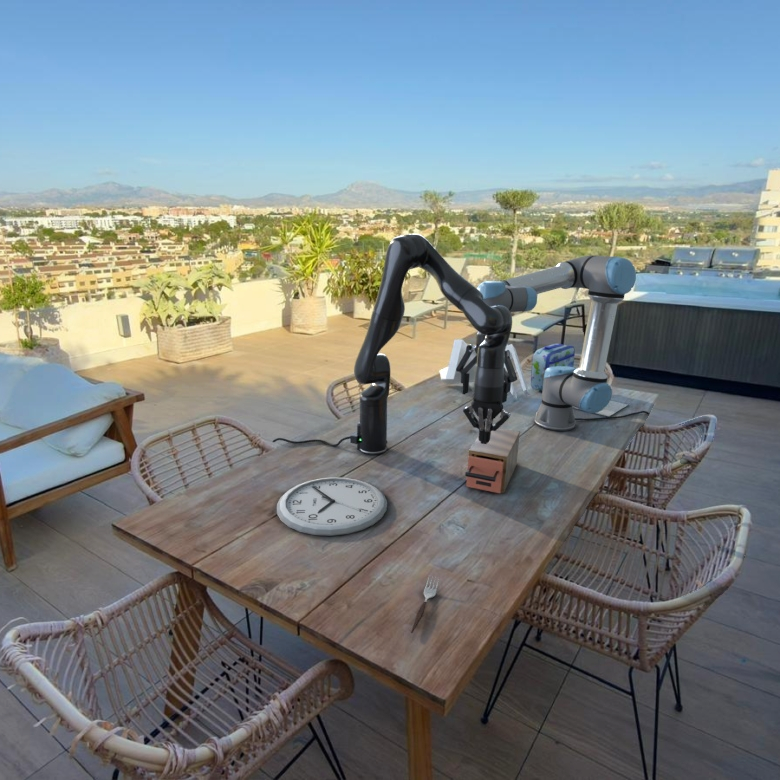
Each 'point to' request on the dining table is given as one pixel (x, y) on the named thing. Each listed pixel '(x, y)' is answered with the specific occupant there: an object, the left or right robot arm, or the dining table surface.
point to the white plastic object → (458, 351)
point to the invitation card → (611, 408)
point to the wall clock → (331, 506)
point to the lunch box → (550, 361)
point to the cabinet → (500, 451)
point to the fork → (428, 594)
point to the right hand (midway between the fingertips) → (484, 397)
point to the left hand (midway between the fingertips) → (484, 442)
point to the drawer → (485, 473)
